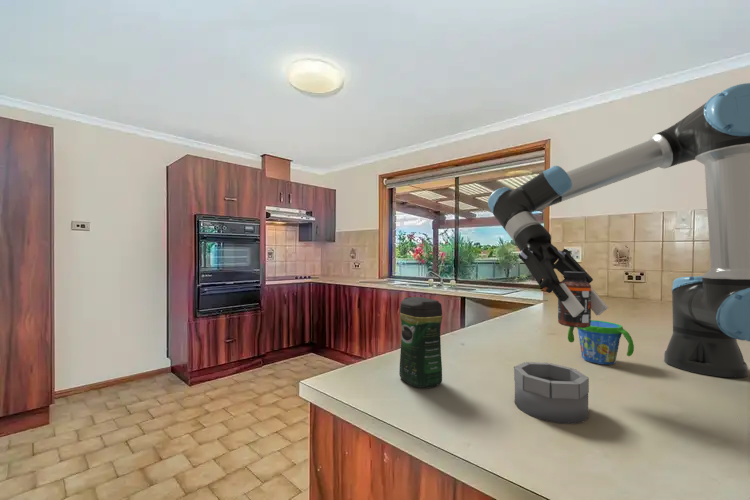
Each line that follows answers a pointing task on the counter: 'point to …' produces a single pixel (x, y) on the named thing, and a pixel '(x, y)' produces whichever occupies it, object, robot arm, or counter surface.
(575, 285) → the supplement bottle
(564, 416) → the octagonal grey sleeve
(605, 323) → the snack cup
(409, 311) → the coffee jar
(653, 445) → the counter surface
